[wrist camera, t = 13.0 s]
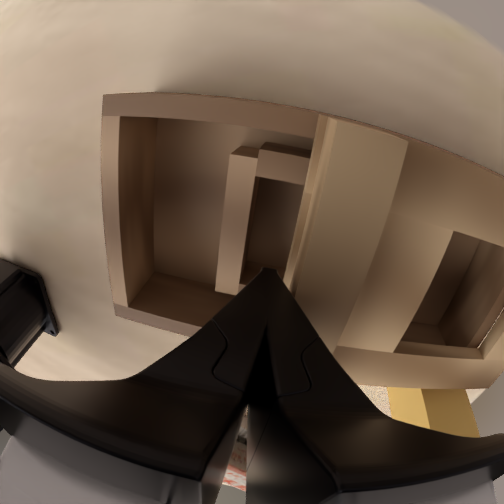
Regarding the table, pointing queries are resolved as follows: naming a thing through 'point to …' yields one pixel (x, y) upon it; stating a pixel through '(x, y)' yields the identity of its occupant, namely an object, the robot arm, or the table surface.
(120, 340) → the table surface
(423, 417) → the yellow rectangular block
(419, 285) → the lid
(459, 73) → the table surface
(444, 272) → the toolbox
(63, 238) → the table surface
